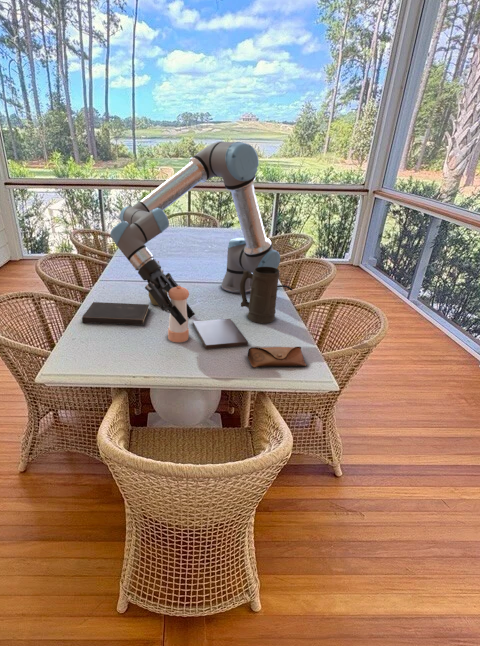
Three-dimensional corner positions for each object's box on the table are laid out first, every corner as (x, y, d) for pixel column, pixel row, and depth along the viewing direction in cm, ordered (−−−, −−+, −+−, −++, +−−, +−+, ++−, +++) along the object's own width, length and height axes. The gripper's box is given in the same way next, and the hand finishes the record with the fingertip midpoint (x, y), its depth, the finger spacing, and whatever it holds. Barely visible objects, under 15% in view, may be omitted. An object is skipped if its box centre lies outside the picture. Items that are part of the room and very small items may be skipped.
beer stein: (278, 315, 160) (282, 266, 150) (274, 325, 151) (277, 274, 141) (241, 312, 165) (242, 264, 155) (235, 321, 156) (236, 271, 146)
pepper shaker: (189, 334, 143) (190, 283, 133) (187, 343, 137) (188, 290, 127) (169, 332, 143) (169, 281, 134) (166, 341, 137) (166, 288, 127)
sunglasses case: (253, 367, 122) (252, 346, 122) (247, 367, 129) (247, 347, 129) (309, 366, 124) (308, 345, 124) (300, 366, 131) (299, 346, 131)
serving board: (230, 322, 153) (230, 318, 152) (247, 345, 136) (248, 341, 136) (192, 324, 150) (192, 321, 149) (205, 349, 133) (206, 345, 132)
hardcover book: (93, 307, 162) (93, 301, 161) (149, 309, 162) (149, 304, 160) (82, 323, 149) (81, 317, 147) (143, 325, 148) (142, 320, 147)
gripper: (154, 264, 142) (193, 316, 144) (123, 278, 128) (167, 335, 130) (166, 252, 137) (206, 305, 139) (136, 265, 123) (181, 324, 125)
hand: (187, 319), depth 135 cm, fingers open, 6 cm apart
